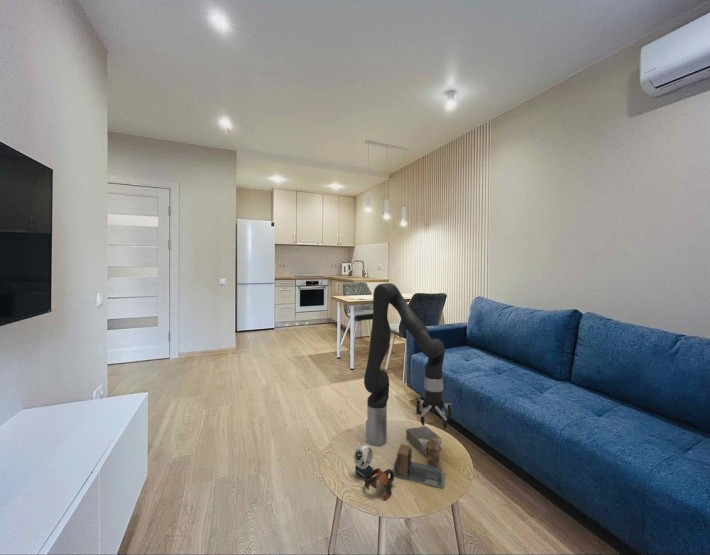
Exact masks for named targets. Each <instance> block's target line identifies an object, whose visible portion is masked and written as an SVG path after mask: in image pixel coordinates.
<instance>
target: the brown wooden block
mask: <svg viewBox="0 0 710 555" xmlns="http://www.w3.org/2000/svg"><path fill="white" fill-rule="evenodd" d="M426 458H427V465H430V466H435V467H439V462H440V450H439V441H435V440H429V441H428V444H427V456H426Z"/></svg>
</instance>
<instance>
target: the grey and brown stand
mask: <svg viewBox="0 0 710 555" xmlns="http://www.w3.org/2000/svg"><path fill="white" fill-rule="evenodd" d="M396 454H397V456H396V458H395V460H394V463H393V467H392V469H391V470H393V472H394V478H398V479H401V480H405V481H409V482H413V483H417V484H422V485H426V486H429V487H434V488H438V489H442V490H444V488H445V479H446V472H443V468H442V467H439V466H438V467H435V466H430V465H428V464H424V463H421V462H418V461H417V462H416V461H412V458H413V457H412V448H411V445H407V444H401V443H400V446H399V449H398V451H397V453H396Z"/></svg>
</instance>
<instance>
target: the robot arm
mask: <svg viewBox="0 0 710 555" xmlns="http://www.w3.org/2000/svg"><path fill="white" fill-rule="evenodd" d="M372 295H373V296H372V297H373V299H372V301H373V302H372V304H373V305H372V308H373V309H372V310H373V312H372V323H371V331H370V338H369V351H368V356H367V363H366V367H365V368H366V369H365V373H364V378H363V384H364V389H365V390H366V391H367V392H368V393H370V395H369V396H368V397H367V401H366V402H367V404H366V406H367V416H366V417H367V418H366V419H367V420H366V421H365V442H367V443H368V444H370V445H371V446H378V447H379V446H383V445H385V444H386V443H387V440H388V439H387V438H388V436H387V435H388V431H387V430H388V428H387V427H388V421H387V420H388V416H387V414H388V399H389V398H390V397H389V394H390V377H389V374H388V373H387V372H386V370H384V369H381V366H382V364H383V361H384V359H385V357H386V355H387V353H388V351H389V349H390V345H391V335H392V330H391V326H390V325H391V324H390V323H389V319H388V313H389V312H388V311H389V306H390V305H391V306H392V307H393V308H394V309H395V310H396V311H397V313H398V314H399V317H400V319H401V322H402V324H403V326H404V327H405V329H406V330H407V332H409V334H410V335H411V336H412V337H413V338H414V340H415V342H416V344H417V345H418V347H419V349H420V351H421V352H422V354H423V355H424V356H425V357H427V358H428V359H427V362H426V363H425V365H424V399H421V398H419V397H418V398H417V400H416V410H415V413H416V415H419V416H420V424H421V425H422V426H425V423H426V422H425V419H426V418H425V415H426V414H427V413H428V412H429V413H434V414H439V415H440V416H441V418H442V419H443V420H442V421H443V424H442V426H443V430H446V429H447V427H448V420H450V421H451V420H452V417H453V414H452V413H453V411H452V403H451V402H448V403H446V402H444V380H443V364H444V359H445V358H444V357H445V345H444V342H443V341H442V340H441V339H439V338H431V336H430V335H429V331H430V330H429V328H428V327H427V326H426V324H424V323H423V322H422V321H421V319H420V318H419V317H418V316H417V315H416V313H415V312H414V311H413V310H412V308H411V307H410V305H409V304H408V302H407V301H406V299H405V298H404V296H403V295H402V293H401V292H400V289H399V288H398V287H397V286H396V285H395V284H394V283H392V282H391V283H390V282H388V283H385V282H384V283H379V284H378V285H376V286H375V287H374V289H373V294H372ZM389 304H390V305H389ZM422 405H424V406H425V407H424V408H423V409H422V410H421V406H422ZM444 407H445V408H446V410H447V413H448V414H447V413H446V412H445V410H444Z"/></svg>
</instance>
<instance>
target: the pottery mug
mask: <svg viewBox="0 0 710 555" xmlns="http://www.w3.org/2000/svg"><path fill="white" fill-rule="evenodd" d="M371 473H372V474H371V475H370V476H369V473H368V474H367V475H366V476H365V477H364V480H363V481H364V487H365V488H366V489H367V491H369V490H370V486H371V487H372V488H374V489H376V488H378V486H377V482H378V483H379V485H380V486H381V487H383V488H384V489H385V491H384V492H383V493H382V494H381V497H382V499H383V501H386V500H387V499H389V498H390V497H391V495H392V483H393V482H394V480H395V477H394V472H393V470H392V469H390V468H388V469H386V470H383V471H382V469H381V468H379V467H377V468H375V469H374V468H373V470H372V471H371Z"/></svg>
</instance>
